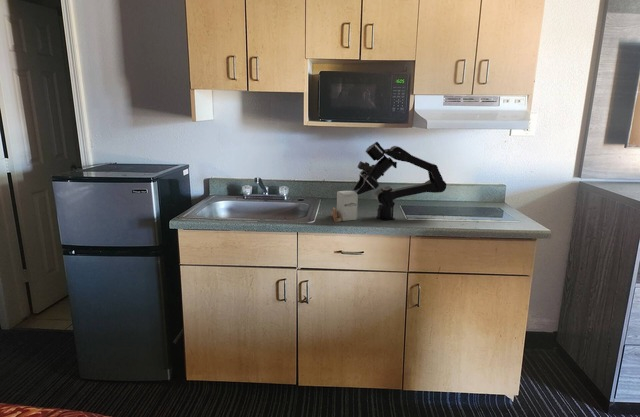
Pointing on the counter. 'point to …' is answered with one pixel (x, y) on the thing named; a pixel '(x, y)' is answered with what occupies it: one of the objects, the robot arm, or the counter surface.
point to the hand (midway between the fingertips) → (355, 191)
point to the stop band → (336, 216)
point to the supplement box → (347, 205)
